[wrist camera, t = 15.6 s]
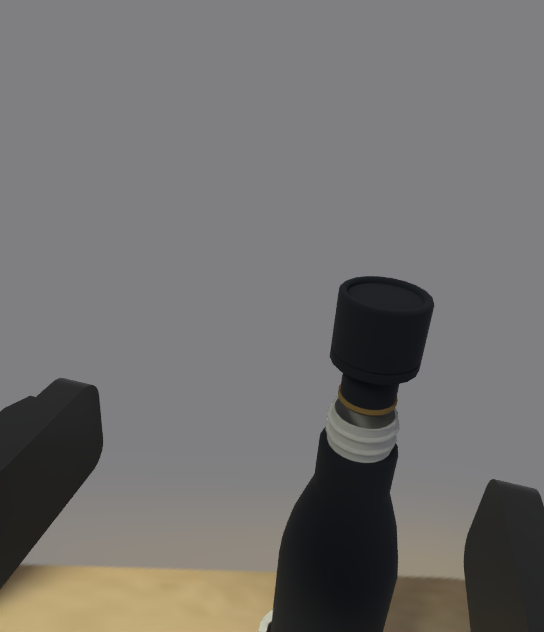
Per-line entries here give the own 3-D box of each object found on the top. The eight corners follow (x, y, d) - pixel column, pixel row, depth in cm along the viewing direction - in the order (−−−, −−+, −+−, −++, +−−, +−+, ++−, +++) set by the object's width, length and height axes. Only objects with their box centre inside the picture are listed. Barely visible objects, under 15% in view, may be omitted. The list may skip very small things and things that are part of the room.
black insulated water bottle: (336, 643, 37) (414, 262, 24) (375, 744, 32) (504, 322, 18) (252, 665, 35) (287, 267, 22) (279, 777, 30) (346, 335, 17)
